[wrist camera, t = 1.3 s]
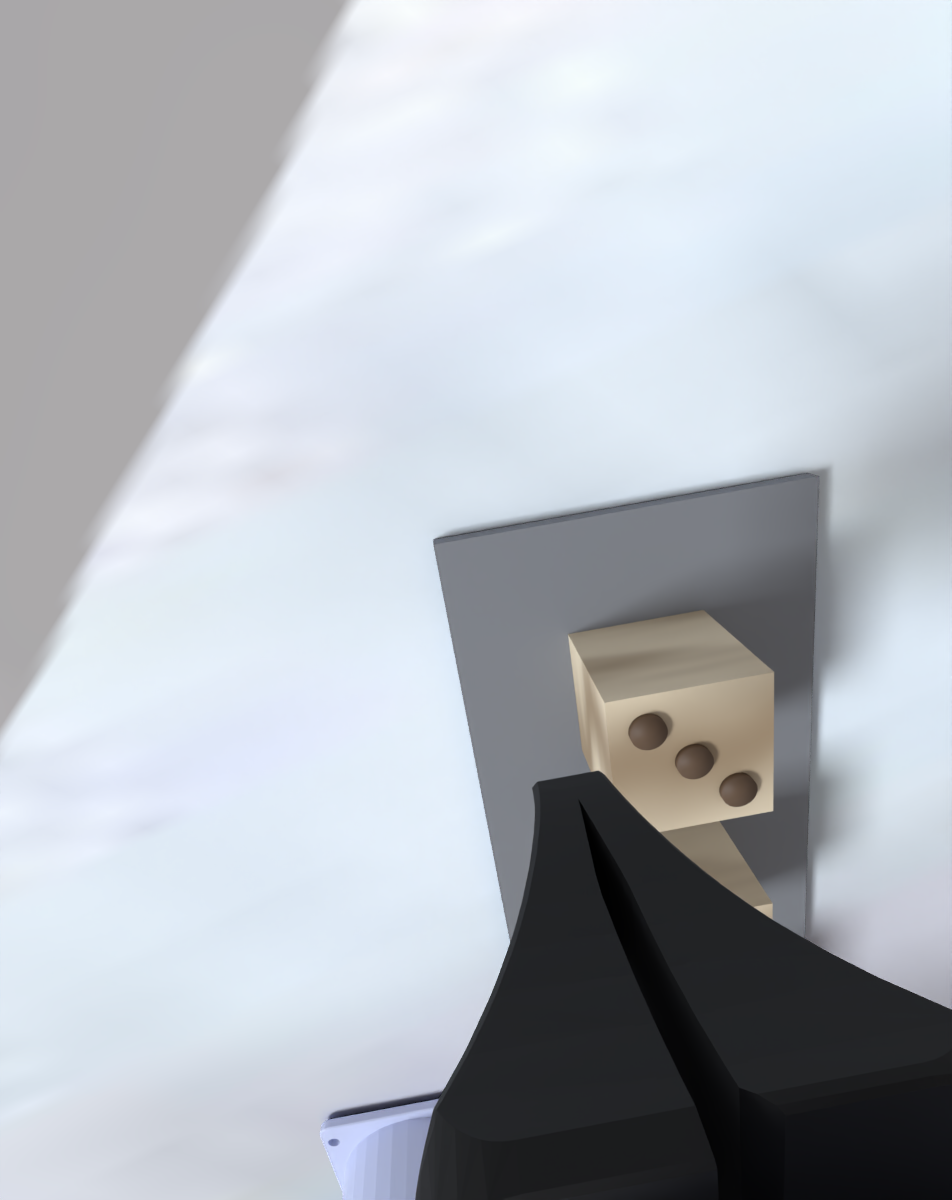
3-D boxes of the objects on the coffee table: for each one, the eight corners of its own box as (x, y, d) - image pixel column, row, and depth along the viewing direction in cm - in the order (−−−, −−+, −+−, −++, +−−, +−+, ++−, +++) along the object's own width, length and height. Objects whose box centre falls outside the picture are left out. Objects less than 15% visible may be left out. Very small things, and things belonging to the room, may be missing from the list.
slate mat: (793, 1062, 30) (800, 1075, 29) (543, 1109, 30) (545, 1124, 29) (807, 472, 20) (818, 476, 19) (433, 539, 20) (433, 544, 19)
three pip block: (707, 727, 22) (777, 816, 18) (581, 750, 22) (620, 844, 18) (703, 609, 21) (778, 675, 16) (568, 634, 21) (606, 706, 16)
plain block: (713, 898, 25) (771, 1005, 21) (602, 919, 25) (638, 1031, 21) (710, 807, 24) (772, 903, 19) (591, 828, 23) (627, 930, 19)
